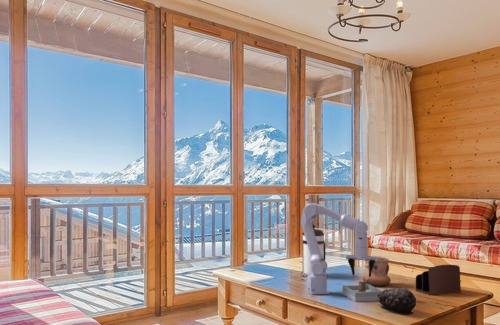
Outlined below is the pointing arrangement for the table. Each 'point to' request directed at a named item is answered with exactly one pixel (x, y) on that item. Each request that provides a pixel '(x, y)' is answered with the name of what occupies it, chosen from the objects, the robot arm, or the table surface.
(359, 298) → the slate box
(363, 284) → the walnut peg
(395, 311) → the pine cone
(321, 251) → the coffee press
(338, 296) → the table surface
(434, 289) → the letter holder
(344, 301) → the table surface
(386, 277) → the ceramic jug
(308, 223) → the robot arm
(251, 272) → the table surface
